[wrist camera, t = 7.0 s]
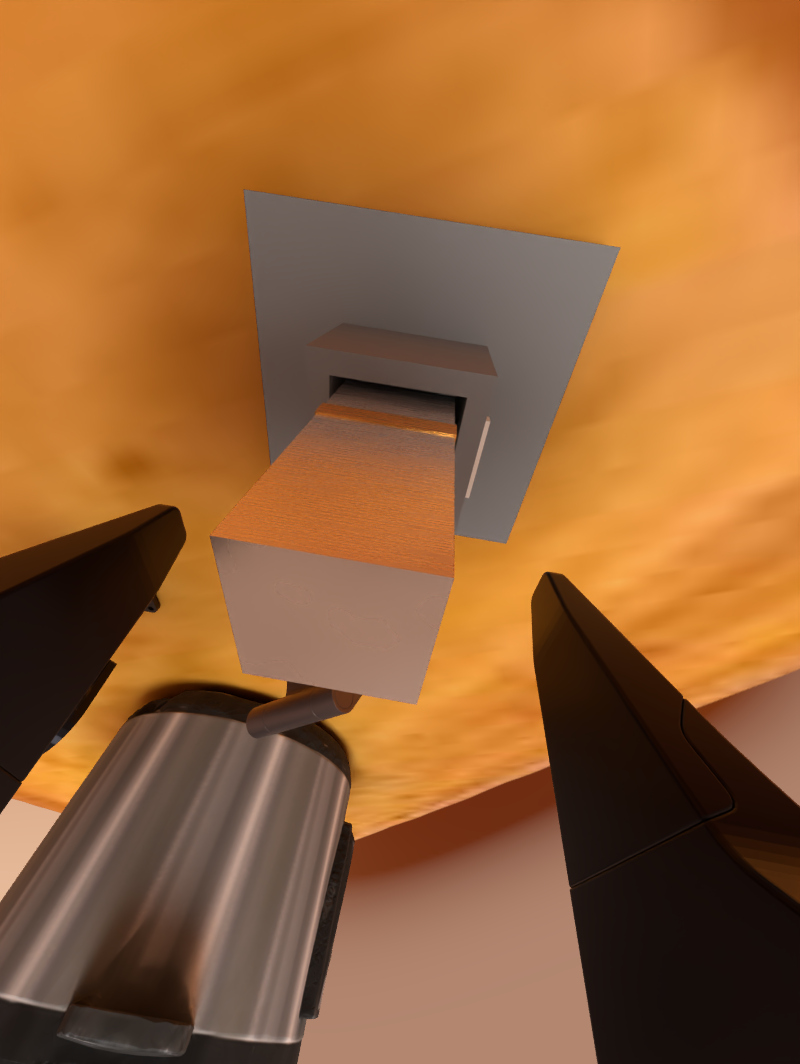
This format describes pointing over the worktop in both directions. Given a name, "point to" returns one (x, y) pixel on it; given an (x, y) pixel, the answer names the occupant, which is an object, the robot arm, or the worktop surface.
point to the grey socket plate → (424, 330)
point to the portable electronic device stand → (298, 709)
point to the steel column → (347, 546)
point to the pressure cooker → (181, 896)
